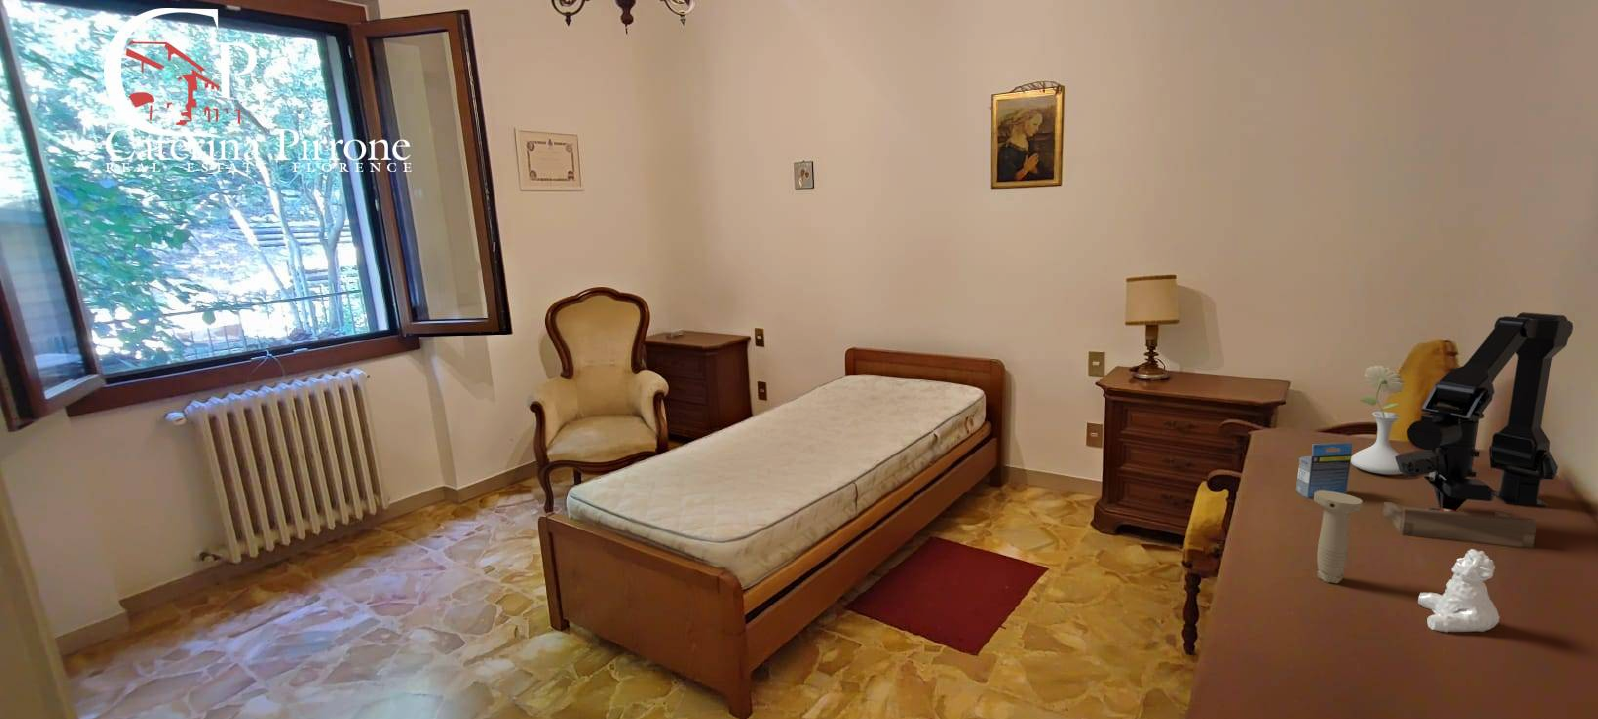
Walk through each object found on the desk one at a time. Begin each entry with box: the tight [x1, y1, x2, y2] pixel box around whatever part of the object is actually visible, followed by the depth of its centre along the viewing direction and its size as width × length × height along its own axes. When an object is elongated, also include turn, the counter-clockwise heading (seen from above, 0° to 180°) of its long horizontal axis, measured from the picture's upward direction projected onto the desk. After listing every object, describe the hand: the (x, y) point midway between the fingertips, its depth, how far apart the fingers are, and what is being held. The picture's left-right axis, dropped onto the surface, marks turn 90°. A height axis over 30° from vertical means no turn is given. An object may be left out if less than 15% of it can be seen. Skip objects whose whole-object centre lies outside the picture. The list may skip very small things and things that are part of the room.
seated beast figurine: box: [1417, 548, 1501, 634], centre depth 106 cm, size 10×9×12 cm
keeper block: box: [1382, 501, 1538, 549], centre depth 136 cm, size 10×19×5 cm, turn 67°
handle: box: [1313, 490, 1363, 584], centre depth 119 cm, size 5×6×15 cm
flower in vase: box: [1350, 365, 1405, 476], centre depth 166 cm, size 13×11×25 cm
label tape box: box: [1295, 442, 1353, 499], centre depth 155 cm, size 9×4×12 cm, turn 92°
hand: (1445, 516), depth 140 cm, fingers closed
